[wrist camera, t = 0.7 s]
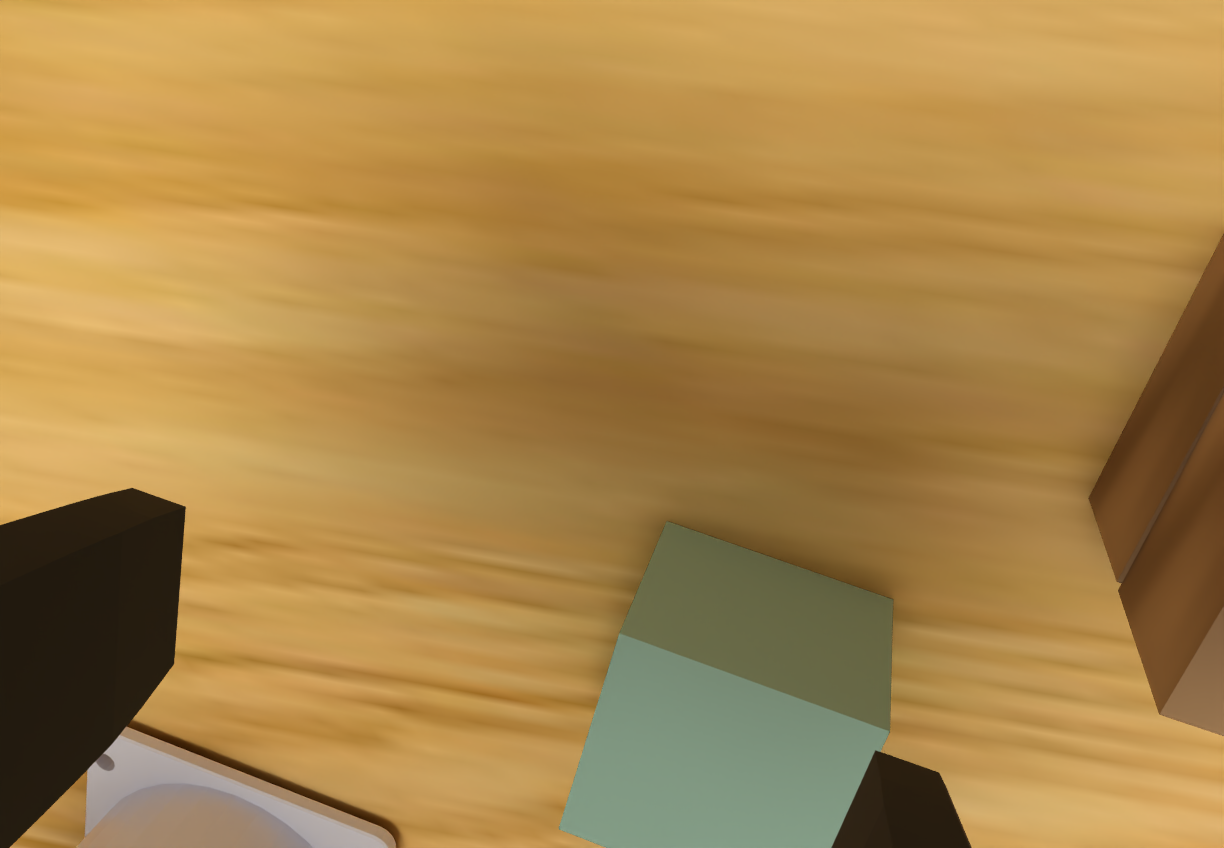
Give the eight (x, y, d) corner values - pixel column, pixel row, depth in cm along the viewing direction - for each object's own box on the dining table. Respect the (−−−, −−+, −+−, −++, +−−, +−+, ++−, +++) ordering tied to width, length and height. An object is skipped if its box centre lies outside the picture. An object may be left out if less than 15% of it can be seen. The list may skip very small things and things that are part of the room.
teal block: (816, 769, 23) (799, 922, 19) (612, 694, 23) (558, 829, 20) (893, 597, 21) (889, 732, 17) (668, 518, 21) (619, 633, 18)
